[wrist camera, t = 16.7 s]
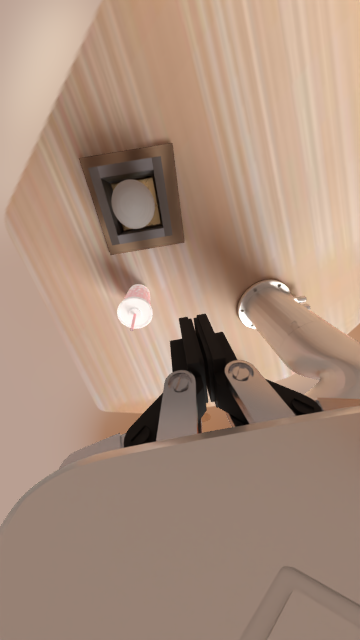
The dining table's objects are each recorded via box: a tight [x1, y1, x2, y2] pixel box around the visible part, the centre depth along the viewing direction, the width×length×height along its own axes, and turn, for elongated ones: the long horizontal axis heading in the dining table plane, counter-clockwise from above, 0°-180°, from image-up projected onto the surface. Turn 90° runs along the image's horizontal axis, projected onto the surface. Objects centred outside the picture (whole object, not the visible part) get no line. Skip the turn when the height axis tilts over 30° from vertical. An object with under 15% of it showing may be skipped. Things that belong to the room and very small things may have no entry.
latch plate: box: [112, 178, 161, 230], centre depth 31 cm, size 6×6×1 cm
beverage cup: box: [117, 284, 153, 331], centre depth 35 cm, size 6×6×14 cm
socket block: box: [79, 143, 184, 255], centre depth 29 cm, size 14×14×7 cm
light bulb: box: [111, 179, 155, 229], centre depth 26 cm, size 5×6×10 cm
